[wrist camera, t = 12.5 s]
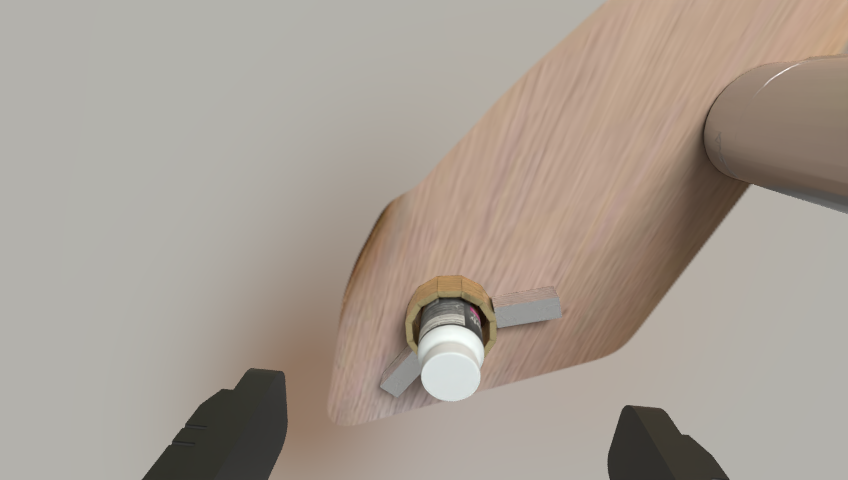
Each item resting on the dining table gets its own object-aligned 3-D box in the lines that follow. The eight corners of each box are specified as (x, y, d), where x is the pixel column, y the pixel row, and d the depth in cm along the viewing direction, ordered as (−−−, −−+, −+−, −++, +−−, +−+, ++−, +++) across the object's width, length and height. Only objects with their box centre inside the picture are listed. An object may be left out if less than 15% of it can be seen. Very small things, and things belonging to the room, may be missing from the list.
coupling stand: (519, 230, 37) (526, 242, 34) (562, 302, 40) (572, 319, 37) (346, 327, 42) (338, 345, 39) (393, 386, 44) (390, 407, 41)
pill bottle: (483, 331, 41) (493, 402, 32) (428, 340, 42) (423, 412, 33) (473, 282, 39) (481, 342, 30) (415, 292, 40) (406, 354, 31)
